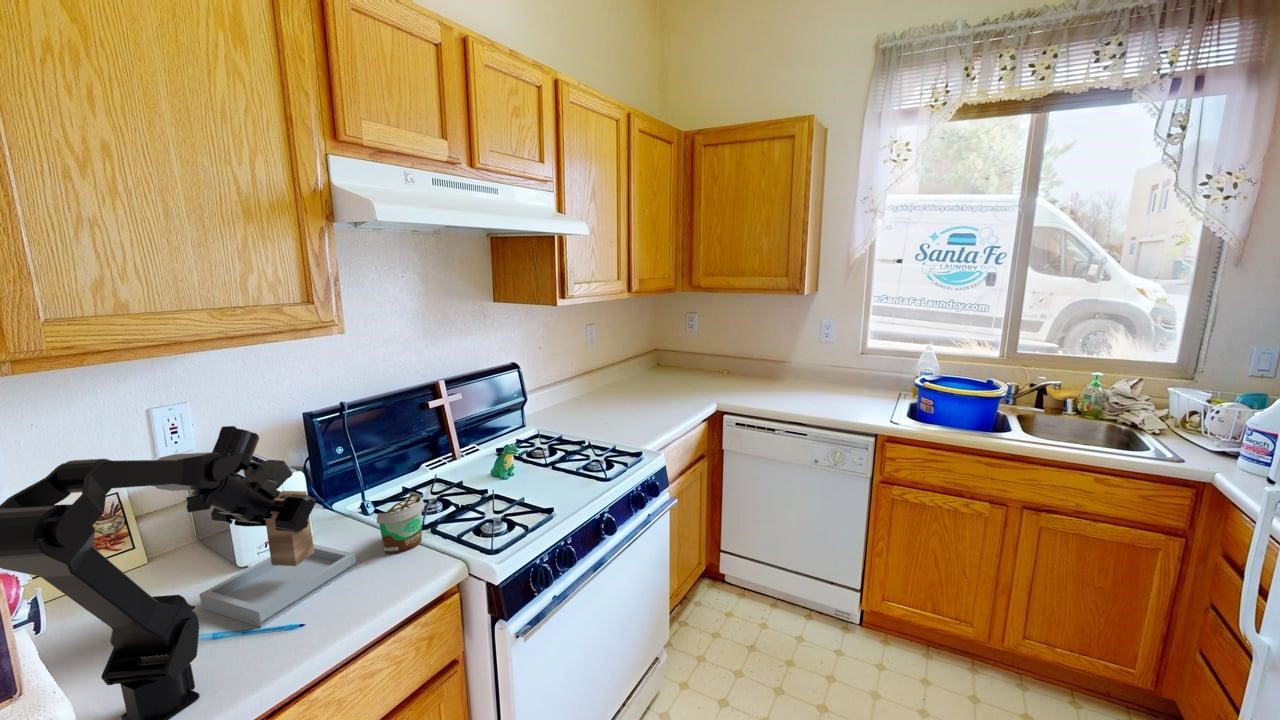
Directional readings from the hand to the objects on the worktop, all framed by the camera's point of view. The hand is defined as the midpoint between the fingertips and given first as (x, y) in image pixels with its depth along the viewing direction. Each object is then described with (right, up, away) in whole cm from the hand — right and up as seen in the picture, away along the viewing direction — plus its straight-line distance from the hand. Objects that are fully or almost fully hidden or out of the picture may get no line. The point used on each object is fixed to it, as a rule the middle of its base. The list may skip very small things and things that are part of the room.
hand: (294, 524), depth 105 cm
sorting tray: (-3, -13, +1) cm, 13 cm away
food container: (+16, -10, +16) cm, 25 cm away
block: (0, -7, 0) cm, 7 cm away
